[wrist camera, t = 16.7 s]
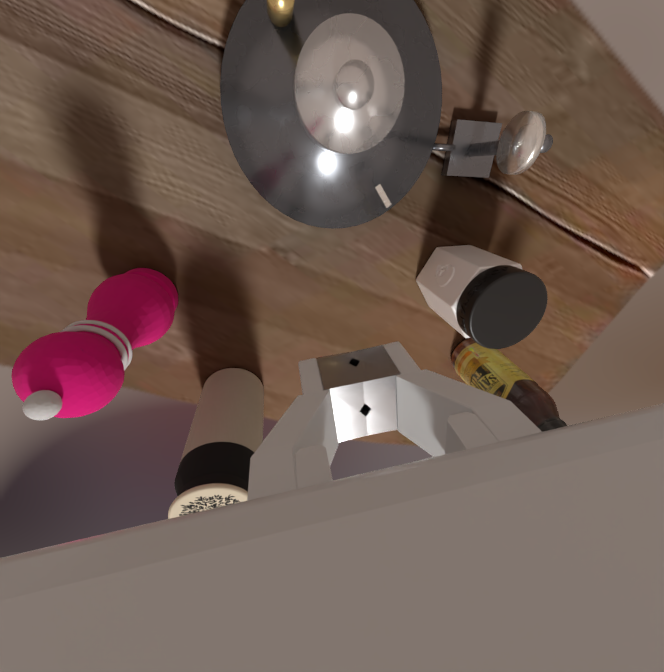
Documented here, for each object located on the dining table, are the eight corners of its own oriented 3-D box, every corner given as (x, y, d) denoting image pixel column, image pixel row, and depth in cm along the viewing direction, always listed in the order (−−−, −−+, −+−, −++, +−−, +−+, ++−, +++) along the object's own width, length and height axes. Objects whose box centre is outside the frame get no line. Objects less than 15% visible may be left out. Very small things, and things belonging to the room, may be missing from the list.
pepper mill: (98, 273, 34) (-84, 385, 16) (164, 254, 34) (53, 344, 17) (134, 331, 37) (16, 473, 20) (194, 313, 38) (129, 438, 20)
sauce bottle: (449, 339, 46) (559, 443, 28) (490, 331, 46) (622, 429, 29) (447, 376, 49) (544, 490, 32) (485, 368, 50) (601, 476, 32)
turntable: (463, 146, 34) (491, 143, 29) (311, 261, 37) (317, 274, 32) (364, -104, 24) (385, -162, 20) (172, 77, 27) (153, 60, 23)
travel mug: (206, 362, 41) (166, 483, 25) (268, 370, 43) (267, 486, 27) (200, 411, 44) (162, 545, 28) (259, 416, 46) (253, 543, 31)
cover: (344, 176, 31) (355, 177, 27) (270, 96, 27) (271, 84, 24) (411, 96, 29) (433, 84, 25) (342, -3, 25) (356, -35, 21)
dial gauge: (421, 174, 35) (483, 176, 25) (429, 119, 33) (502, 96, 22) (482, 177, 36) (566, 180, 26) (494, 124, 34) (592, 106, 24)
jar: (445, 229, 38) (511, 252, 28) (492, 258, 41) (568, 290, 31) (404, 293, 41) (449, 336, 31) (450, 317, 44) (506, 363, 34)
